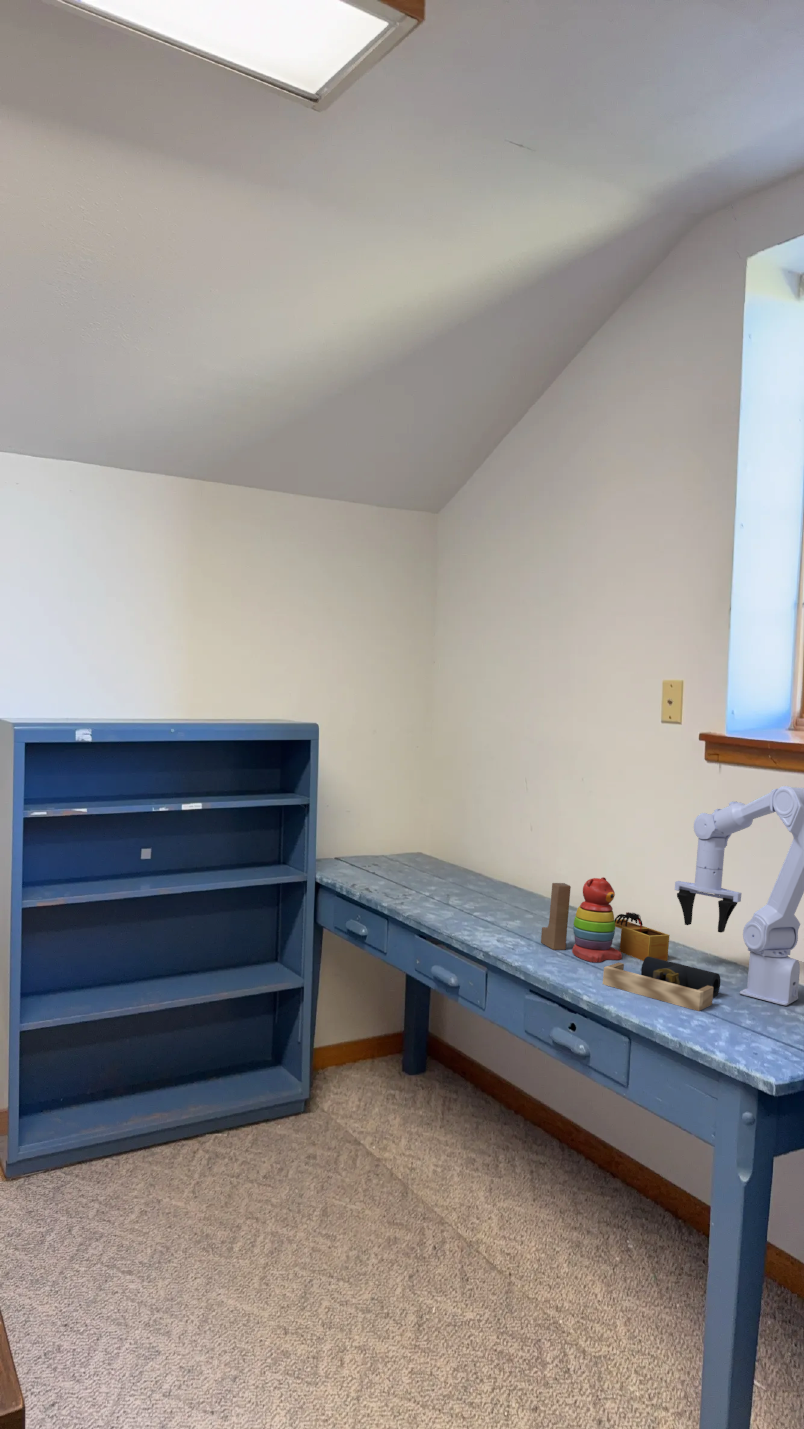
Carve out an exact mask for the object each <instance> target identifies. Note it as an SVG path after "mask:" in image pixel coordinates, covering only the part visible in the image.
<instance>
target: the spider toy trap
mask: <svg viewBox="0 0 804 1429" xmlns="http://www.w3.org/2000/svg"><path fill="white" fill-rule="evenodd" d="M641 917H642V916H641V914H640V913H635V912H629V911H628V912H625V914H623V913H619V914H618V915H616V917H614V921H615V928H618V929H620V931H621V932H620V940H619V941H620V943H619V951H620V952H621V954H624V955H626V956H629V957H632V958H635V959H637V960H640V961H642V962H643V961H644V959H645V958H646V957H647V956H649V957H653V958H657V959H661V960H665V961H668V960H669V959H668V958H669V957H668V956H669V945H670V934H668V933H665V932H662V931H660V930H656V929H652V928H650V927H648V926H644V925H643V920H642V919H641ZM629 919H630V921H629ZM633 921H635V922H634V923H633Z"/></svg>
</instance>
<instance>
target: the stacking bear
mask: <svg viewBox="0 0 804 1429" xmlns="http://www.w3.org/2000/svg"><path fill="white" fill-rule="evenodd" d="M615 895H616V894H615V891H614V888H613V887H612V885H611V883H610V882H609V881H607V878H606V877H604V876H603V877H601V878H597V877H593V878H590V879H587V881H585V882H584V884H583V887H582V896H583V898H584V901H582V902H580V905H579V906H578V907H577V909H576V913H575V916H574V919H573V925H572V926H573V930H572V931H573V936H574V942H575V943H574V945H573V947H572V949H571V953H572V954H573V955H574V956H575V957H577V958H579V959H581V960H584V961H586V962H590V963H602V962H603V961H606V960H607V961H608V960H609V961H610V960H613V961H618V960H619V961H620V960H622V958H623V953H621V952H620V950H619V949H616V948H614V947H612V944H613V940H614V938H615V934H616V933H615V932H616V931H615V930H616V927H615V921H614V920H615V914H614V911H613V906H612V905H611V903H612V901H613V900H614V899H615Z"/></svg>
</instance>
